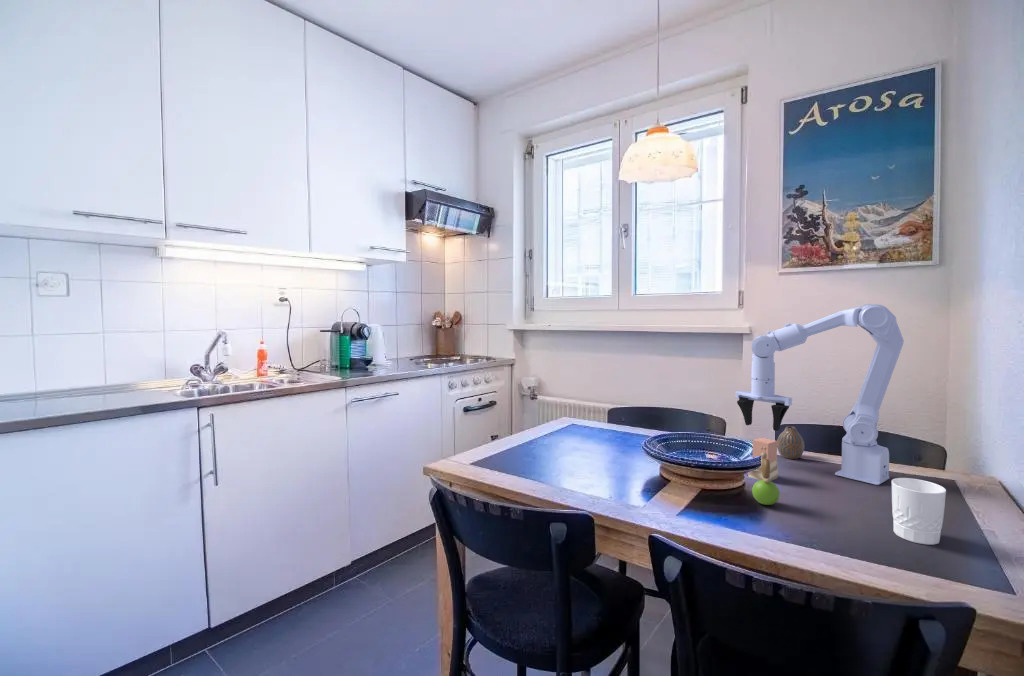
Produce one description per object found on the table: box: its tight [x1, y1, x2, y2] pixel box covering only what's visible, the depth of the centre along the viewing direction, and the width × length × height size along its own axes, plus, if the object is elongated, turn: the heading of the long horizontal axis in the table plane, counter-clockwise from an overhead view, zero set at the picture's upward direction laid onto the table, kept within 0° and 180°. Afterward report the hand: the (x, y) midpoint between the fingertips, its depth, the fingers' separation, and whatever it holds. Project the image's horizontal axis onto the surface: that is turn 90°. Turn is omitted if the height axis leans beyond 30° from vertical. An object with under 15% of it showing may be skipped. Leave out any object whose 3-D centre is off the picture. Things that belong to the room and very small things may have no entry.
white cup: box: [891, 477, 947, 546], centre depth 91 cm, size 8×8×10 cm
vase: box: [776, 425, 805, 460], centre depth 139 cm, size 7×7×9 cm
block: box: [752, 437, 778, 462], centre depth 123 cm, size 4×4×5 cm
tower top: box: [755, 459, 778, 473], centre depth 123 cm, size 5×5×2 cm
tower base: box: [747, 468, 779, 482], centre depth 123 cm, size 5×5×2 cm
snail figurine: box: [751, 447, 780, 506], centre depth 107 cm, size 5×6×12 cm
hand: (762, 427), depth 133 cm, fingers open, 7 cm apart
